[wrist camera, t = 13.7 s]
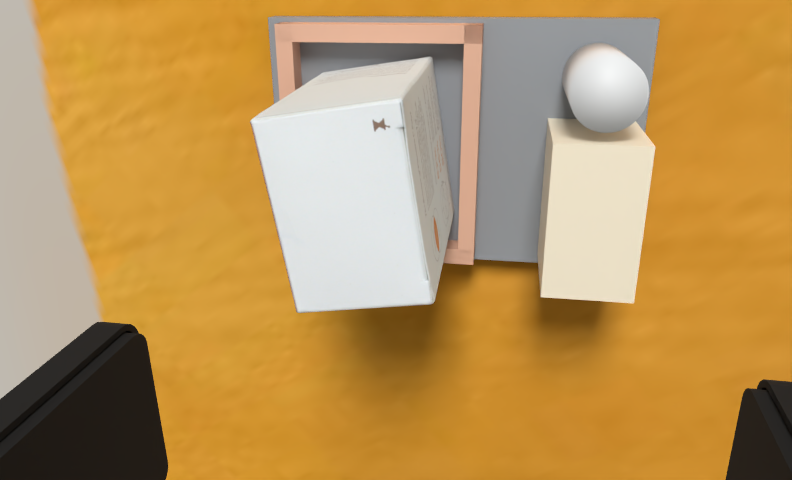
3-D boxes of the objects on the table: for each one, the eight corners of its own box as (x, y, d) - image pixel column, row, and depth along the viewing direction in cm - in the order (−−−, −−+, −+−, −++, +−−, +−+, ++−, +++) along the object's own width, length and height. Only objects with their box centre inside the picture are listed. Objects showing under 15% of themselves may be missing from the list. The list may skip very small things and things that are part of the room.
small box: (322, 70, 33) (244, 113, 24) (435, 53, 32) (401, 92, 23) (351, 223, 36) (292, 318, 27) (457, 213, 35) (435, 308, 25)
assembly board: (655, 17, 31) (685, 29, 26) (624, 260, 36) (644, 314, 30) (274, 15, 34) (228, 26, 28) (290, 241, 38) (252, 287, 33)
